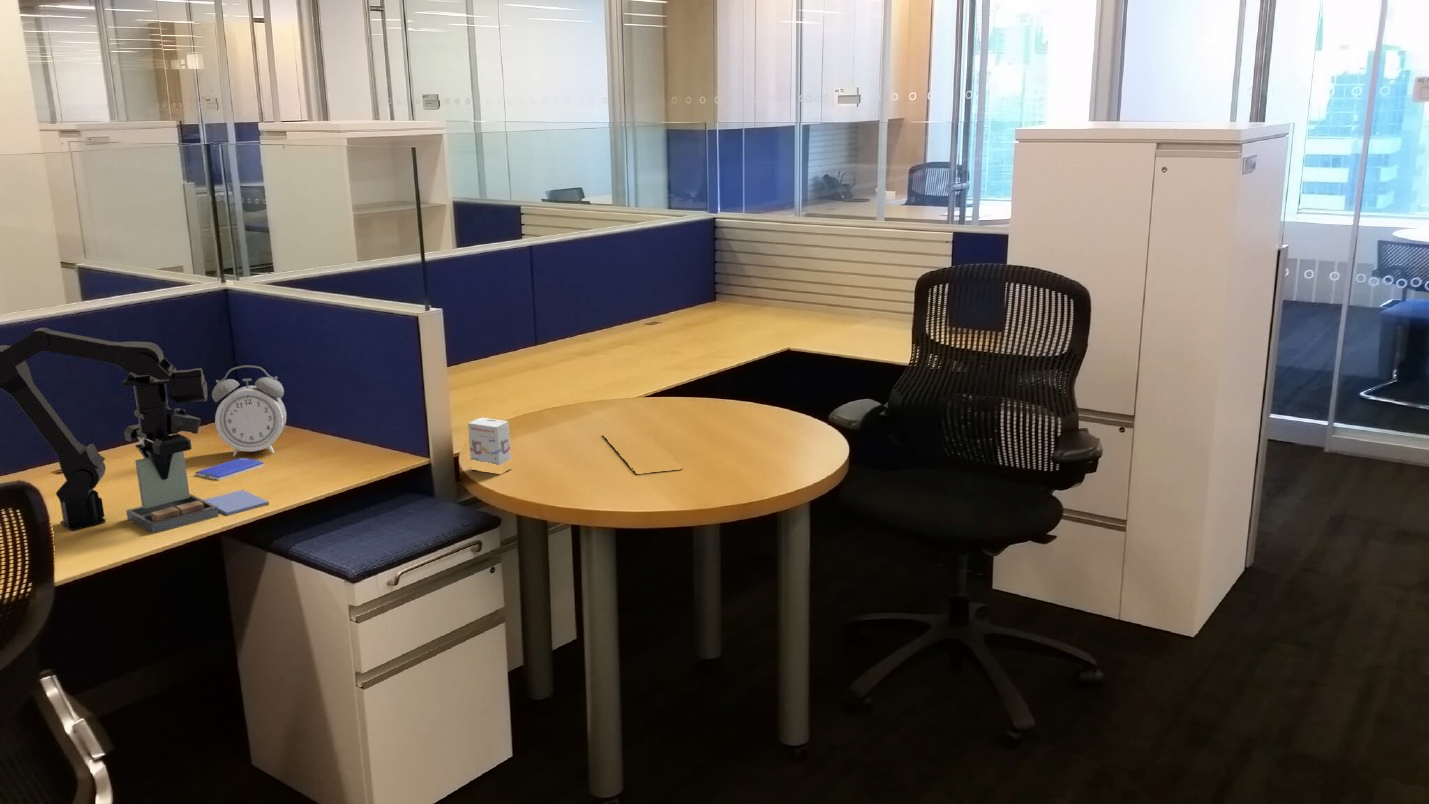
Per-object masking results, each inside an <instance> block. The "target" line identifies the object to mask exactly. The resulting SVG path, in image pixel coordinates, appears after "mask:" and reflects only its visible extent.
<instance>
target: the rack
mask: <svg viewBox="0 0 1429 804" xmlns="http://www.w3.org/2000/svg"><path fill="white" fill-rule="evenodd" d="M189 494H190V498H186V499H182V500H178V501H174V502H170V503H166V504H162V505H158V506H154V507H150V508H146V509H145V508H143V507H142V505H141V506H138V507H134V508H130V509H126V510H125V511H126V518H127V519H126V520H128V521H129V522H131V523H133V524H135V525H136V526H138V527H140V528H141V529H144V530H146V531H147V532H148V533H151V534H157V533H160V532H166V531H168V530H172V529H175V528H179V527H183V526H187V525H190V524H191V525H192V524H195V523H198V522H201V521H206V520H208V519H209V520H210V519H213V518H216V517H217V518H218V517H219V516H220V515H219V511H218V507H216V506H214V505H212V504H210V503H208V502H206V501H204V499H202V498H200V497H198V496H196V495H194V494H191V493H189ZM195 501H200V502H201V503H203V504H204V509H202V510H198V511H194V512H190V513H186V514H182V515H179V516H175V517H171V518H167V519H163V520H159V521H155V522H152V518H151V512H155V511H159V510H163V509H166V508H170V507H174V508H176V506H178V505H182V504H186V503H190V502H195ZM176 509H177V508H176Z"/></svg>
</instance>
